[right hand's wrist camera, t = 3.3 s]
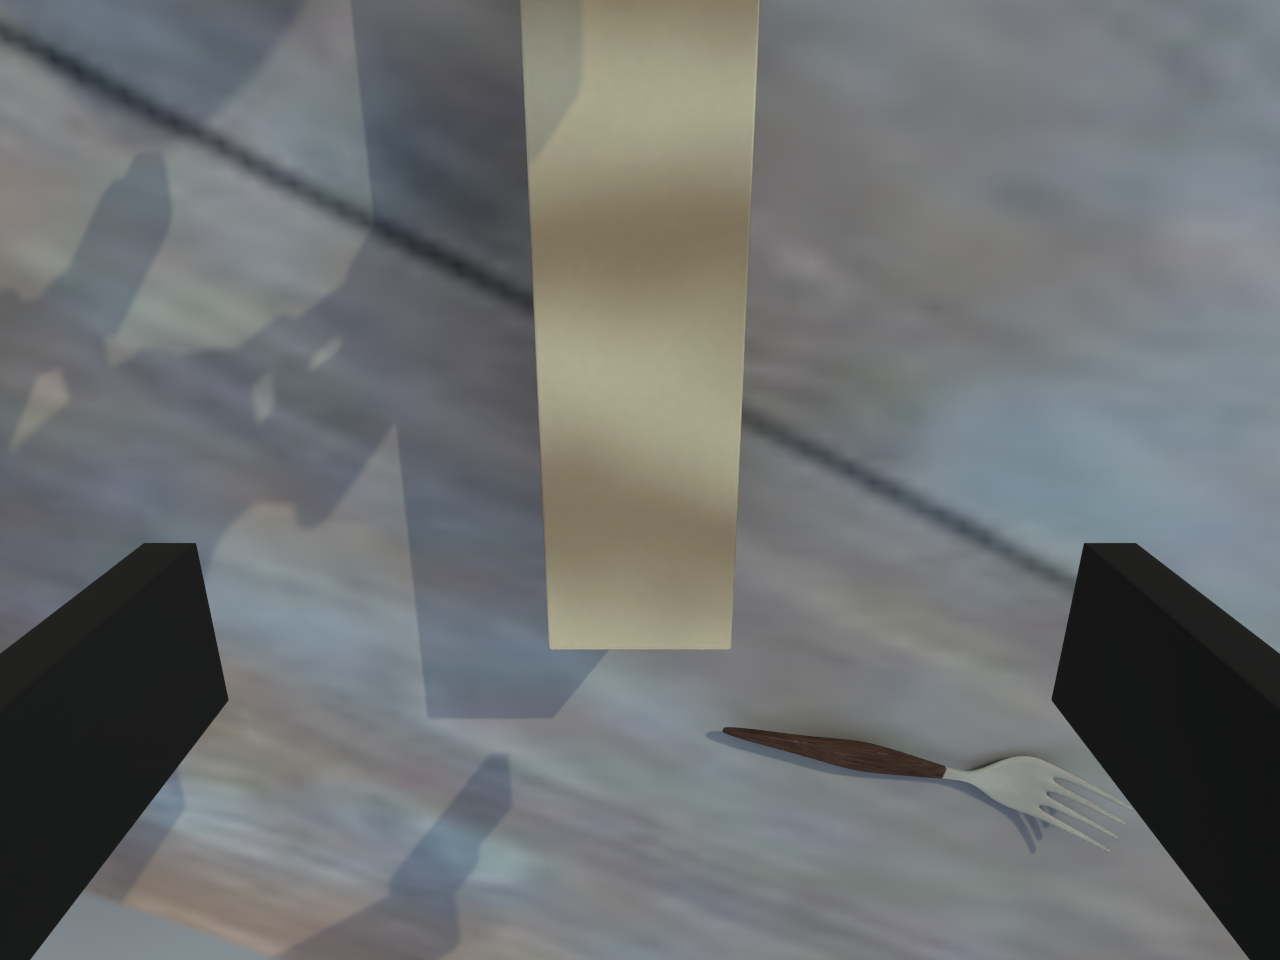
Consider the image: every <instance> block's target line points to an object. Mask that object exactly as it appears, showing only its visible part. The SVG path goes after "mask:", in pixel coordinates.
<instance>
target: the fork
mask: <svg viewBox="0 0 1280 960" xmlns="http://www.w3.org/2000/svg"><path fill="white" fill-rule="evenodd" d="M723 732H724V733H726V734H729V735H732V736H734V737H738V738H741V739H744V740H747V741H751V742H754V743H758V744H762V745H765V746H769V747H773V748H776V749H780V750H784V751H788V752H791V753H795V754H799V755H802V756H806V757H809V758H812V759H816V760H819V761H823V762H826V763H830V764H833V765H837V766H841V767H845V768H849V769H853V770H859V771H865V772H872V773H882V774H893V775H905V776H918V777H930V778H942V779H951V780H959V781H964V782H967V783H970V784H972V785H974V786H976V787H977V788H979V789H980V790H981V791H982V792H984V793H985V794H986V795H988V796H989V797H990V798H992V799H993V800H995V801H997V802H998V803H1000V804H1002V805H1004V806H1007V807H1009V808H1011V809H1014V810H1017V811H1019V812H1022V813H1025V814H1028V815H1030V816H1033V817H1036V818H1038V819H1041V820H1043V821H1045V822H1047V823H1050V824H1052V825H1054V826H1056V827H1058V828H1060V829H1063V830H1065V831H1067V832H1069V833H1071V834H1073V835H1075V836H1077V837H1079V838H1081V839H1084V840H1086V841H1088V842H1090V843H1092V844H1094V845H1096V846H1098V847H1100V848H1102V849H1103V850H1105V851H1107V852H1110V849H1109V848H1107V847H1105V846H1103V845H1102V844H1100V843H1098V842H1097V841H1095V840H1093V839H1091V838H1090V837H1088V836H1086V835H1085V834H1083V833H1081V832H1079V831H1078V830H1076V829H1074V828H1073V827H1071V826H1069V825H1067V824H1065V823H1064V822H1062V821H1060V820H1058V819H1056V818H1055V817H1053V816H1051V815H1049V814H1047V813H1046V812H1044V811H1043V810H1041V809H1040V807H1039V806H1040V805H1044V806H1047V807H1050V808H1053V809H1055V810H1058V811H1060V812H1062V813H1064V814H1066V815H1069V816H1071V817H1073V818H1075V819H1077V820H1079V821H1082V822H1084V823H1086V824H1088V825H1090V826H1092V827H1094V828H1096V829H1098V830H1100V831H1102V832H1104V833H1107V834H1109V835H1110V836H1112V837H1114V838H1117V836H1116V835H1115V834H1114V833H1112V832H1110V831H1108V830H1107V829H1105V828H1103V827H1102V826H1100V825H1098V824H1096V823H1095V822H1093V821H1091V820H1090V819H1088V818H1086V817H1084V816H1082V815H1081V814H1079V813H1077V812H1075V811H1074V810H1072V809H1070V808H1068V807H1066V806H1064V805H1063V804H1061V803H1059V802H1057V801H1055V800H1054V799H1052V798H1050V797H1049V796H1048V795H1047V794H1046V792H1053V793H1056V794H1059V795H1062V796H1064V797H1066V798H1068V799H1071V800H1073V801H1075V802H1077V803H1080V804H1082V805H1084V806H1086V807H1088V808H1090V809H1093V810H1095V811H1097V812H1099V813H1101V814H1103V815H1105V816H1108V817H1110V818H1112V819H1114V820H1116V821H1118V822H1120V823H1122V824H1125V822H1124V821H1123V820H1121V819H1119V818H1118V817H1116V816H1114V815H1112V814H1111V813H1109V812H1107V811H1105V810H1104V809H1102V808H1100V807H1098V806H1097V805H1095V804H1093V803H1091V802H1089V801H1088V800H1086V799H1084V798H1082V797H1080V796H1079V795H1077V794H1075V793H1073V792H1071V791H1069V790H1067V789H1065V788H1064V787H1062V786H1060V785H1059V784H1057V783H1056V782H1055V781H1054V780H1053V779H1054V778H1060V779H1063V780H1066V781H1068V782H1071V783H1073V784H1075V785H1078V786H1080V787H1082V788H1084V789H1087V790H1089V791H1091V792H1093V793H1096V794H1098V795H1100V796H1102V797H1104V798H1107V799H1109V800H1111V801H1113V802H1115V803H1117V804H1120V805H1122V806H1124V807H1126V808H1127V809H1129V810H1131V811H1132V810H1133V807H1131V806H1129V805H1127V804H1125V803H1124V802H1122V801H1120V800H1118V799H1117V798H1115V797H1113V796H1111V795H1109V794H1108V793H1106V792H1104V791H1102V790H1100V789H1099V788H1097V787H1095V786H1093V785H1091V784H1089V783H1088V782H1086V781H1084V780H1082V779H1080V778H1078V777H1076V776H1074V775H1072V774H1070V773H1068V772H1066V771H1064V770H1062V769H1060V768H1058V767H1056V766H1054V765H1053V764H1050V763H1048V762H1046V761H1044V760H1041V759H1039V758H1035V757H1031V756H1015V757H1010V758H1007V759H1004V760H1001V761H998V762H996V763H993V764H991V765H989V766H986V767H983V768H980V769H977V770H973V771H962V770H957V769H953V768H950V767H946V766H943V765H940V764H937V763H933V762H930V761H927V760H924V759H921V758H918V757H915V756H912V755H908V754H905V753H902V752H899V751H895V750H892V749H889V748H886V747H882V746H878V745H874V744H870V743H865V742H860V741H853V740H844V739H834V738H823V737H812V736H802V735H794V734H786V733H778V732H771V731H763V730H755V729H746V728H733V727H725V728H724V729H723Z"/></svg>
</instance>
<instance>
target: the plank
mask: <svg viewBox="0 0 1280 960" xmlns="http://www.w3.org/2000/svg"><path fill="white" fill-rule="evenodd" d="M520 16H521V38H522V61H523V83H524V105H525V128H526V150H527V172H528V194H529V217H530V239H531V261H532V284H533V306H534V328H535V351H536V373H537V395H538V417H539V440H540V462H541V484H542V507H543V529H544V551H545V574H546V596H547V618H548V640H549V649H550V650H730V649H731V640H732V618H733V595H734V573H735V551H736V529H737V506H738V484H739V462H740V439H741V417H742V395H743V372H744V350H745V328H746V306H747V283H748V261H749V239H750V216H751V194H752V172H753V149H754V127H755V105H756V82H757V60H758V38H759V16H760V0H520Z"/></svg>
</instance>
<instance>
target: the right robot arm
mask: <svg viewBox="0 0 1280 960" xmlns="http://www.w3.org/2000/svg"><path fill="white" fill-rule="evenodd" d="M227 701H228V695H227V690H226V686H225V681H224V676H223V671H222V666H221V662H220V657H219V652H218V647H217V642H216V637H215V633H214V628H213V623H212V618H211V613H210V609H209V604H208V599H207V594H206V589H205V584H204V580H203V575H202V570H201V565H200V560H199V556H198V551H197V546H196V543H144V544H142V545H141V546H140V547H139V548H137V549H136V550H135V551H133V552H132V553H131V554H129V555H128V556H127V557H126V558H124V559H123V560H122V561H120V562H119V563H118V564H116V565H115V566H114V567H113V568H111V569H110V570H109V571H107V572H106V573H105V574H103V575H102V576H101V577H100V578H98V579H97V580H96V581H94V582H93V583H92V584H90V585H89V586H88V587H87V588H85V589H84V590H83V591H81V592H80V593H79V594H77V595H76V596H75V597H74V598H72V599H71V600H70V601H68V602H67V603H66V604H64V605H63V606H62V607H61V608H59V609H58V610H57V611H55V612H54V613H53V614H51V615H50V616H49V617H48V618H46V619H45V620H44V621H42V622H41V623H40V624H38V625H37V626H36V627H35V628H33V629H32V630H31V631H29V632H28V633H27V634H25V635H24V636H23V637H22V638H20V639H19V640H18V641H16V642H15V643H14V644H12V645H11V646H10V647H9V648H7V649H6V650H5V651H3V652H2V653H1V654H0V960H30V959H31V958H32V957H33V955H34V954H35V953H36V951H37V950H38V949H39V947H40V946H41V945H42V944H43V942H44V941H45V940H46V938H47V937H48V936H49V934H50V933H51V932H52V930H53V929H54V928H55V926H56V925H57V924H58V923H59V921H60V920H61V919H62V917H63V916H64V915H65V913H66V912H67V911H68V910H69V908H70V907H71V906H72V904H73V903H74V902H75V900H76V899H77V898H78V896H79V895H80V894H81V893H82V891H83V890H84V889H85V887H86V886H87V885H88V883H89V882H90V881H91V879H92V878H93V877H94V876H95V874H96V873H97V872H98V870H99V869H100V868H101V866H102V865H103V864H104V862H105V861H106V860H107V859H108V857H109V856H110V855H111V853H112V852H113V851H114V849H115V848H116V847H117V845H118V844H119V843H120V841H121V840H122V839H123V838H124V836H125V835H126V834H127V832H128V831H129V830H130V828H131V827H132V826H133V824H134V823H135V822H136V821H137V819H138V818H139V817H140V815H141V814H142V813H143V811H144V810H145V809H146V807H147V806H148V805H149V804H150V802H151V801H152V800H153V798H154V797H155V796H156V794H157V793H158V792H159V790H160V789H161V788H162V787H163V785H164V784H165V783H166V781H167V780H168V779H169V777H170V776H171V775H172V773H173V772H174V771H175V770H176V768H177V767H178V766H179V764H180V763H181V762H182V760H183V759H184V758H185V756H186V755H187V754H188V753H189V751H190V750H191V749H192V747H193V746H194V745H195V743H196V742H197V741H198V739H199V738H200V737H201V736H202V734H203V733H204V732H205V730H206V729H207V728H208V726H209V725H210V724H211V722H212V721H213V720H214V718H215V717H216V716H217V715H218V713H219V712H220V711H221V709H222V708H223V707H224V705H225V704H226V703H227ZM1052 701H1053V703H1054V704H1055V705H1056V707H1057V708H1058V709H1059V711H1060V712H1061V713H1062V715H1063V716H1064V717H1065V718H1066V720H1067V721H1068V722H1069V724H1070V725H1071V726H1072V728H1073V729H1074V730H1075V732H1076V733H1077V734H1078V736H1079V737H1080V738H1081V739H1082V741H1083V742H1084V743H1085V745H1086V746H1087V747H1088V749H1089V750H1090V751H1091V753H1092V754H1093V755H1094V756H1095V758H1096V759H1097V760H1098V762H1099V763H1100V764H1101V766H1102V767H1103V768H1104V770H1105V771H1106V772H1107V773H1108V775H1109V776H1110V777H1111V779H1112V780H1113V781H1114V783H1115V784H1116V785H1117V787H1118V788H1119V789H1120V790H1121V792H1122V793H1123V794H1124V796H1125V797H1126V798H1127V800H1128V801H1129V802H1130V804H1131V805H1132V806H1133V807H1134V809H1135V810H1136V811H1137V813H1138V814H1139V815H1140V817H1141V818H1142V819H1143V821H1144V822H1145V823H1146V824H1147V826H1148V827H1149V828H1150V830H1151V831H1152V832H1153V834H1154V835H1155V836H1156V838H1157V839H1158V840H1159V841H1160V843H1161V844H1162V845H1163V847H1164V848H1165V849H1166V851H1167V852H1168V853H1169V855H1170V856H1171V857H1172V859H1173V860H1174V861H1175V862H1176V864H1177V865H1178V866H1179V868H1180V869H1181V870H1182V872H1183V873H1184V874H1185V876H1186V877H1187V878H1188V879H1189V881H1190V882H1191V883H1192V885H1193V886H1194V887H1195V889H1196V890H1197V891H1198V893H1199V894H1200V895H1201V896H1202V898H1203V899H1204V900H1205V902H1206V903H1207V904H1208V906H1209V907H1210V908H1211V910H1212V911H1213V912H1214V913H1215V915H1216V916H1217V917H1218V919H1219V920H1220V921H1221V923H1222V924H1223V925H1224V927H1225V928H1226V929H1227V930H1228V932H1229V933H1230V934H1231V936H1232V937H1233V938H1234V940H1235V941H1236V942H1237V944H1238V945H1239V946H1240V947H1241V949H1242V950H1243V951H1244V953H1245V954H1246V955H1247V957H1248V958H1249V959H1250V960H1280V654H1279V653H1278V652H1277V651H1275V650H1274V649H1273V648H1271V647H1270V646H1269V645H1268V644H1266V643H1265V642H1264V641H1262V640H1261V639H1260V638H1258V637H1257V636H1256V635H1255V634H1253V633H1252V632H1251V631H1249V630H1248V629H1247V628H1245V627H1244V626H1243V625H1242V624H1240V623H1239V622H1238V621H1236V620H1235V619H1234V618H1232V617H1231V616H1230V615H1229V614H1227V613H1226V612H1225V611H1223V610H1222V609H1221V608H1219V607H1218V606H1217V605H1216V604H1214V603H1213V602H1212V601H1210V600H1209V599H1208V598H1206V597H1205V596H1204V595H1203V594H1201V593H1200V592H1199V591H1197V590H1196V589H1195V588H1193V587H1192V586H1191V585H1190V584H1188V583H1187V582H1186V581H1184V580H1183V579H1182V578H1180V577H1179V576H1178V575H1177V574H1175V573H1174V572H1173V571H1171V570H1170V569H1169V568H1167V567H1166V566H1165V565H1164V564H1162V563H1161V562H1160V561H1158V560H1157V559H1156V558H1154V557H1153V556H1152V555H1151V554H1149V553H1148V552H1147V551H1145V550H1144V549H1143V548H1141V547H1140V546H1139V545H1138V544H1136V543H1084V546H1083V551H1082V556H1081V560H1080V565H1079V570H1078V575H1077V580H1076V584H1075V589H1074V594H1073V599H1072V604H1071V609H1070V613H1069V618H1068V623H1067V628H1066V633H1065V637H1064V642H1063V647H1062V652H1061V657H1060V661H1059V666H1058V671H1057V676H1056V681H1055V686H1054V690H1053V695H1052Z"/></svg>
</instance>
